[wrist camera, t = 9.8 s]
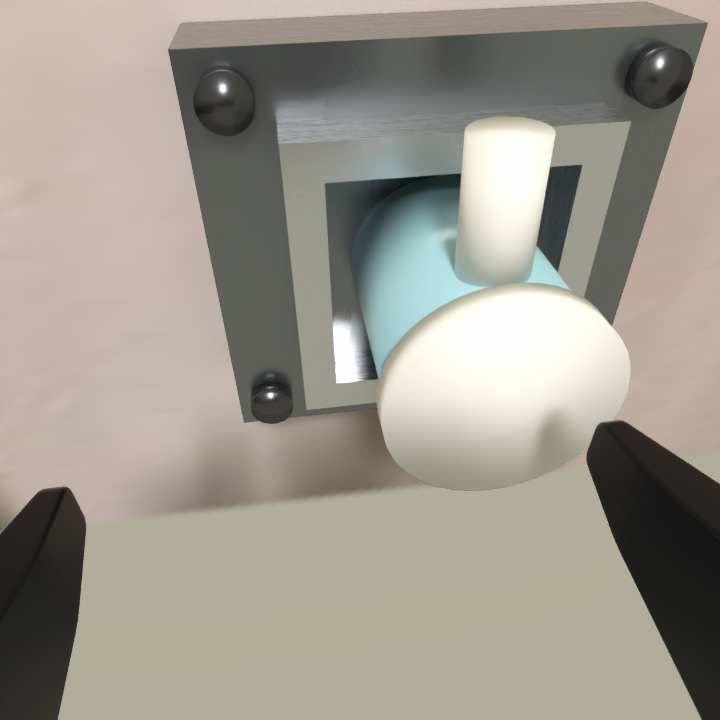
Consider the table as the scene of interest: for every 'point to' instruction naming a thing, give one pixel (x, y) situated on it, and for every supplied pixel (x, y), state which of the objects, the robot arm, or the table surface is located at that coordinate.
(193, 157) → the grey metal socket plate
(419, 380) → the pump canister
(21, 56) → the table surface
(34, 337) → the table surface
